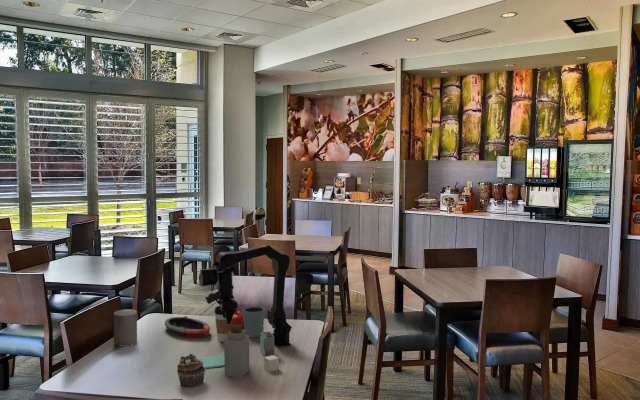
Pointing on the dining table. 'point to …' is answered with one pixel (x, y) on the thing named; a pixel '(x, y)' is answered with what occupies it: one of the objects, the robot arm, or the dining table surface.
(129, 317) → the pillar candle
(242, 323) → the pomegranate
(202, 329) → the inflatable boat
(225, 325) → the coffee cup
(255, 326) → the drinking glass
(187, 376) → the cupcake
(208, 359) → the teal tile
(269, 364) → the grey block
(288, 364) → the dining table surface
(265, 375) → the dining table surface
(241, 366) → the perfume bottle
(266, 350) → the napkin dispenser
